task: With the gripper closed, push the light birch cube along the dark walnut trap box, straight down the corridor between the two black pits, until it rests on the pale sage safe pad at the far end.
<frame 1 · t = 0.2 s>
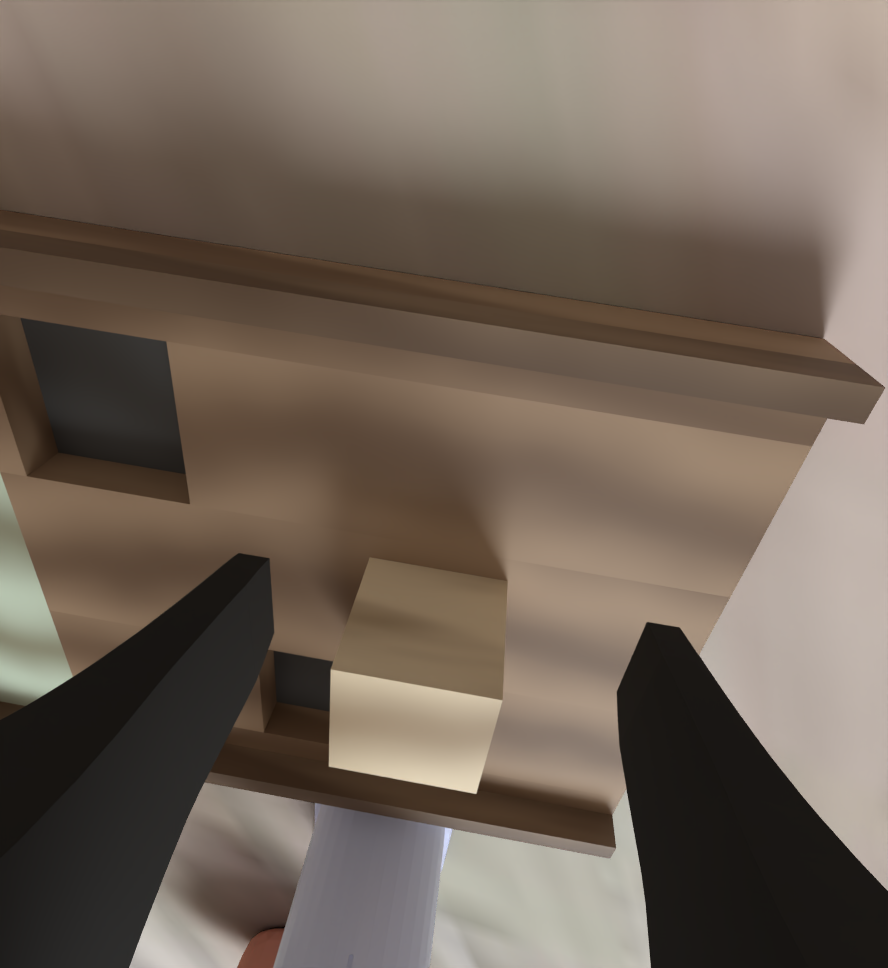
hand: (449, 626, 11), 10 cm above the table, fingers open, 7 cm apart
decorative flower: (305, 942, 47), on the table
trap box: (294, 557, 24), on the table
block: (430, 618, 22), point 2 cm above the table, touching trap box
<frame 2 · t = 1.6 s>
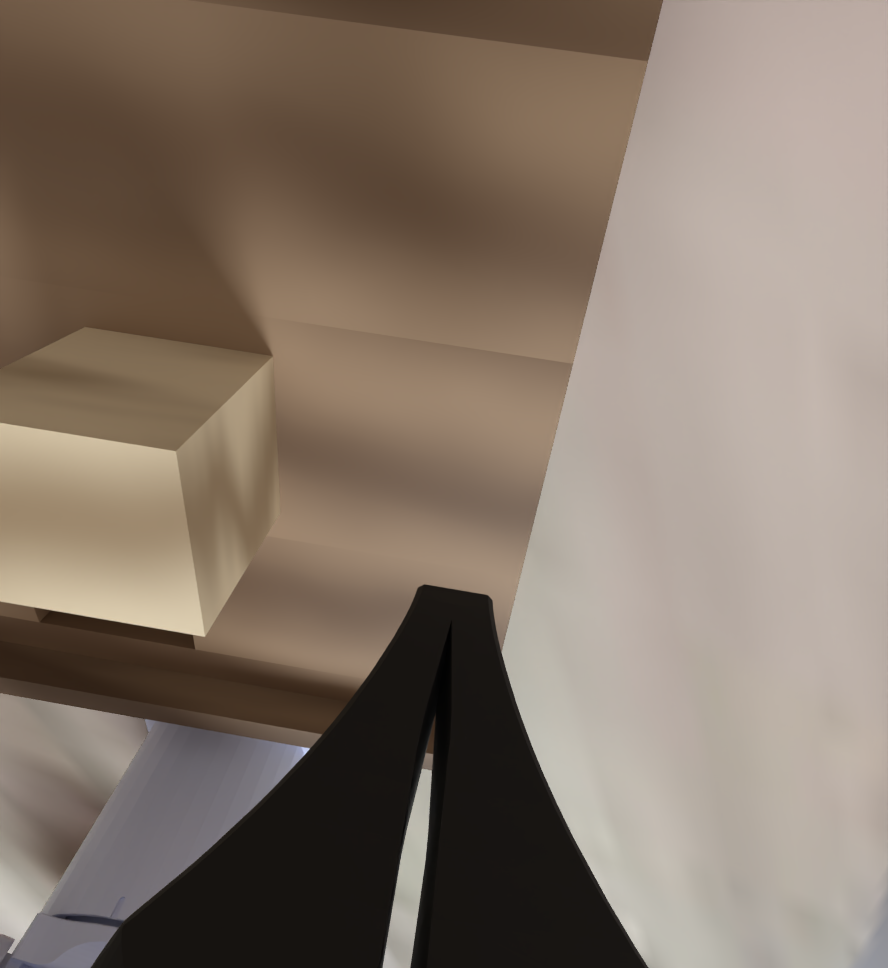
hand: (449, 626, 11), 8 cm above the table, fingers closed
trap box: (34, 368, 18), on the table
block: (190, 427, 17), point 2 cm above the table, touching trap box
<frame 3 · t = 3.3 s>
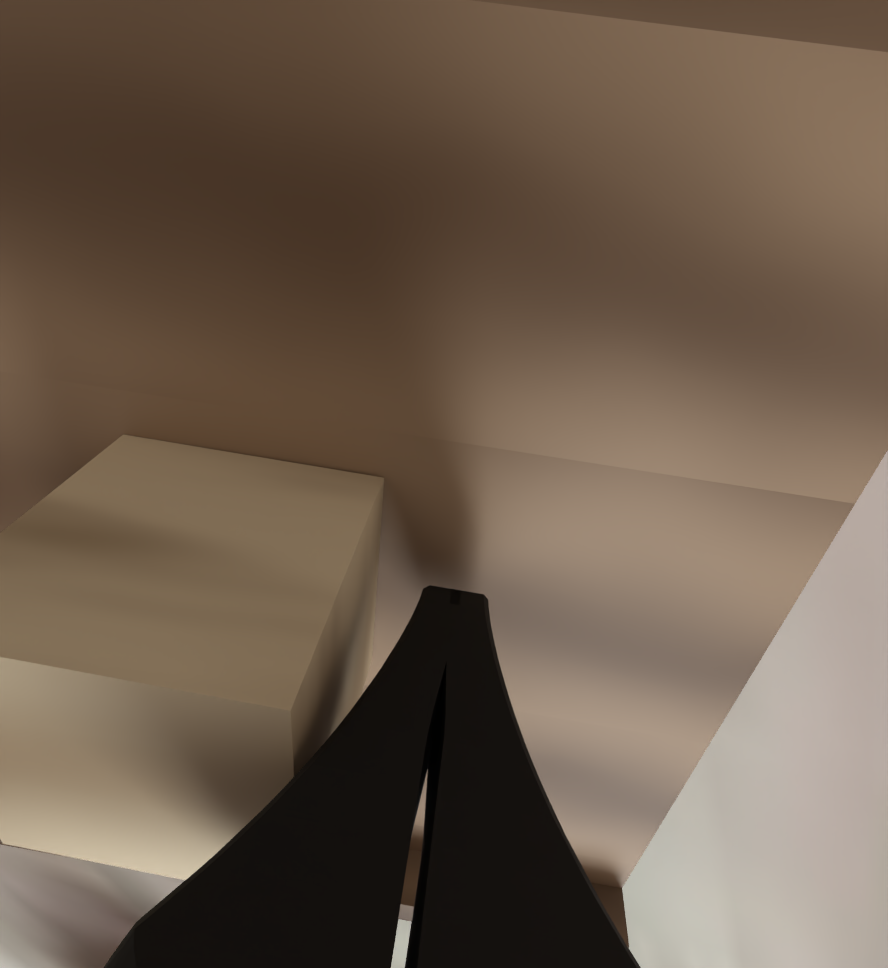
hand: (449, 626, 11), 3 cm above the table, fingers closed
trap box: (76, 470, 14), on the table
block: (260, 557, 12), point 2 cm above the table, touching gripper
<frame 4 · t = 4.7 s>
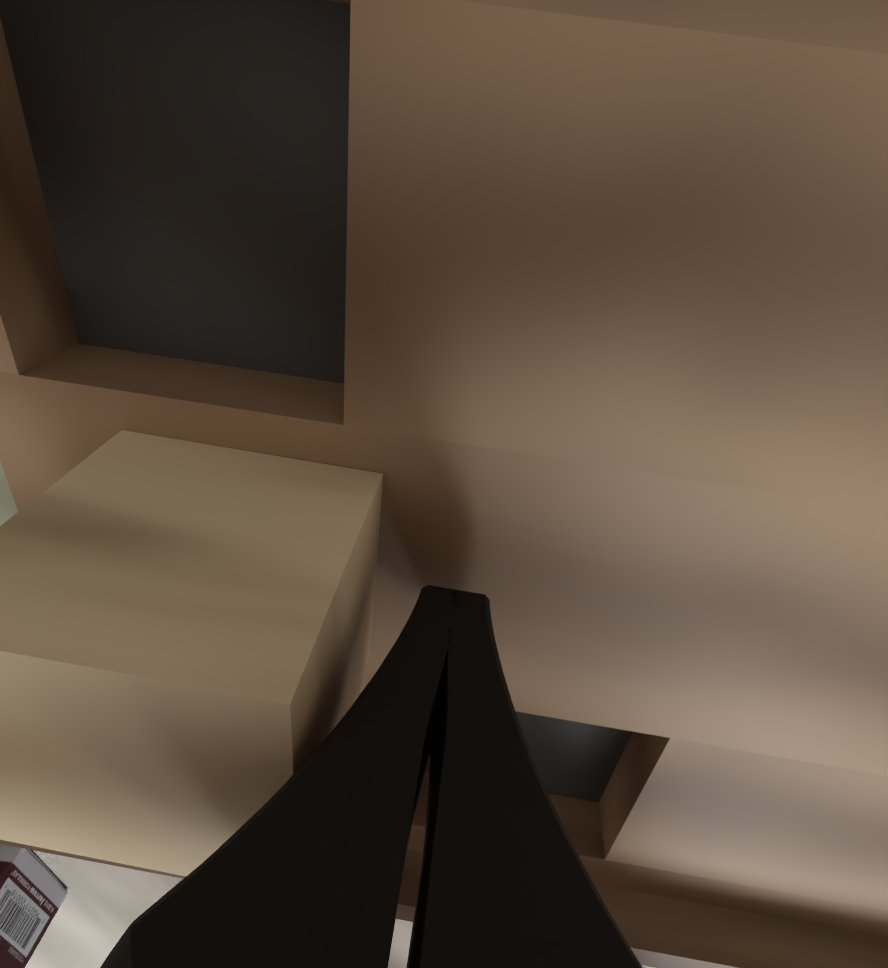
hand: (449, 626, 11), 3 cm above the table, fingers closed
trap box: (488, 537, 14), on the table
block: (258, 554, 12), point 2 cm above the table, touching gripper, trap box
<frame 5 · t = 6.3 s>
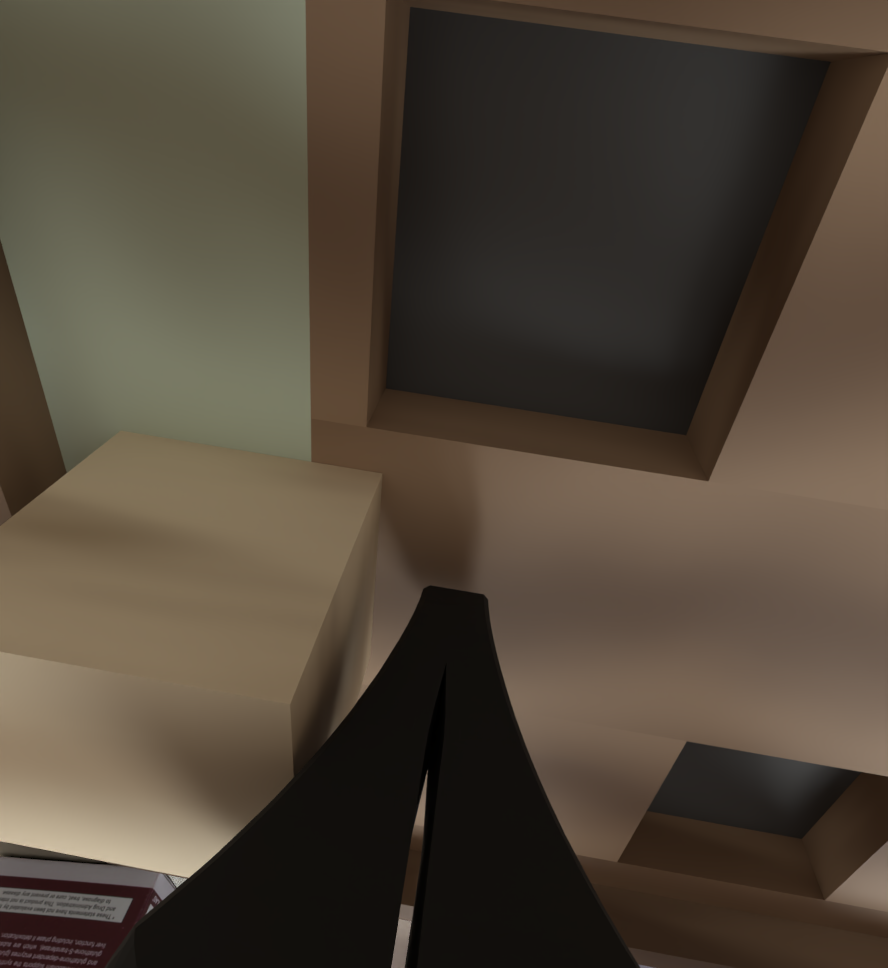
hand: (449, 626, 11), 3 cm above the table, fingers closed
supplement box: (104, 879, 28), on the table
trap box: (761, 581, 14), on the table
block: (258, 554, 12), point 2 cm above the table, touching gripper, trap box
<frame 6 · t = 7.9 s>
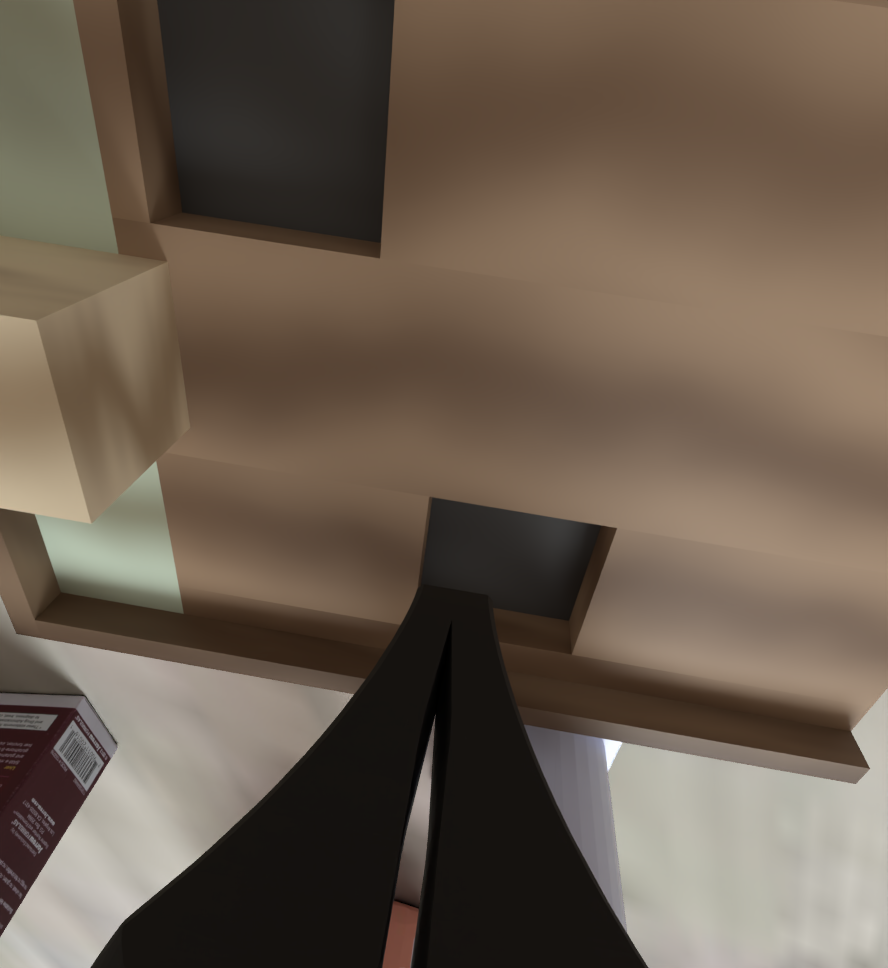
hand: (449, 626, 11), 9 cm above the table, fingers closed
decorative flower: (391, 914, 41), on the table
supplement box: (40, 715, 33), on the table
trap box: (481, 374, 18), on the table
block: (95, 337, 17), point 2 cm above the table, touching trap box
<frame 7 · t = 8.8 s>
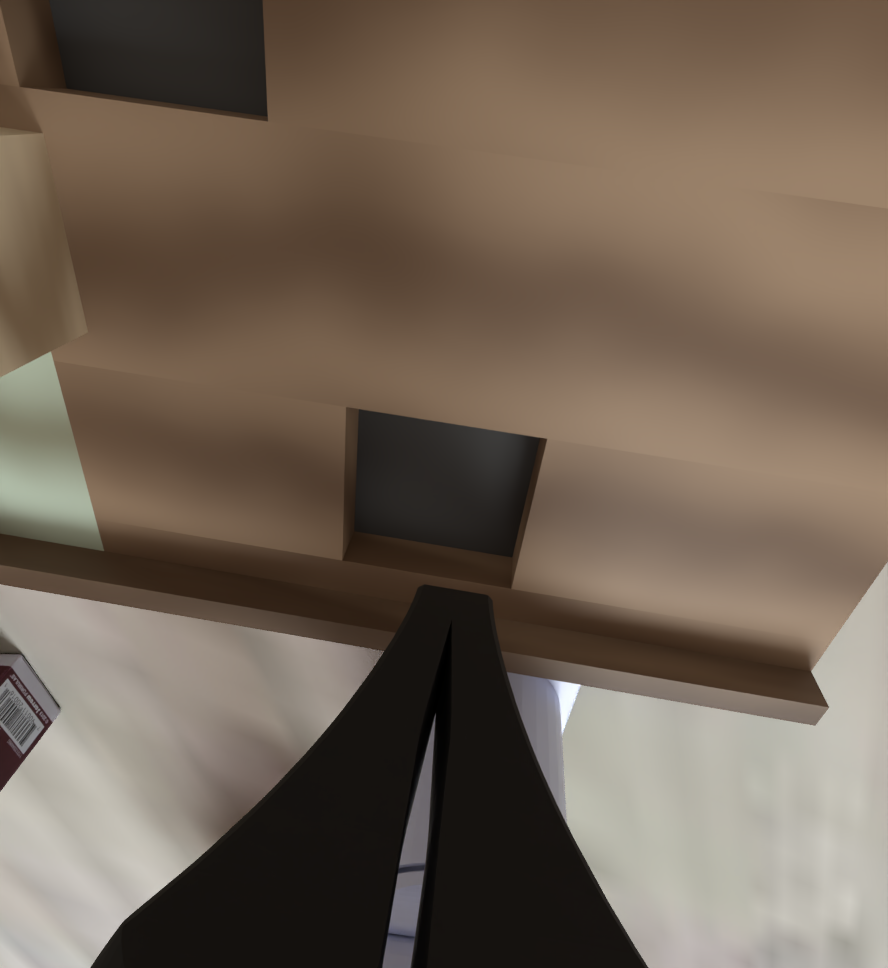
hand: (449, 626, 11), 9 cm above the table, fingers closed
trap box: (400, 274, 17), on the table
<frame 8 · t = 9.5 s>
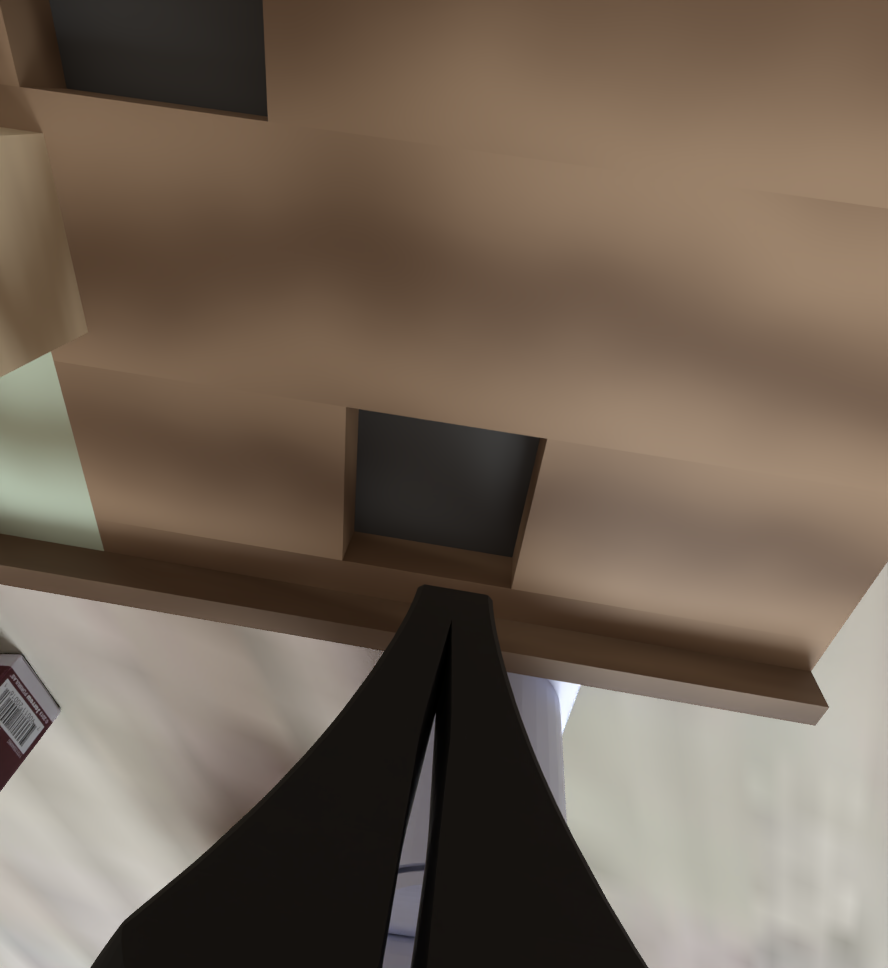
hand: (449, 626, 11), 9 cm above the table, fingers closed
trap box: (400, 274, 17), on the table
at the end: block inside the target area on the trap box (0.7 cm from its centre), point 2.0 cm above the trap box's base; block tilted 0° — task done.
